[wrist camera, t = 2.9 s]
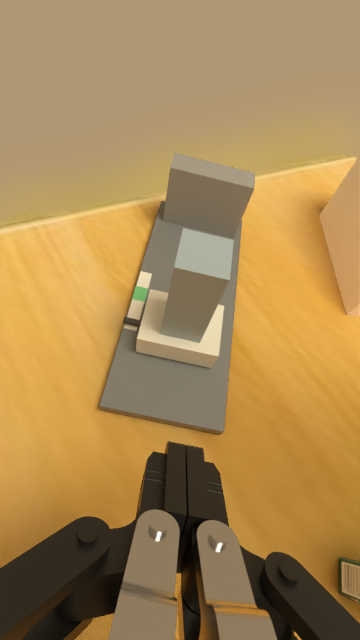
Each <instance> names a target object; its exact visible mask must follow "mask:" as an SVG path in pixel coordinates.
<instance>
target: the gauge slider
mask: <svg viewBox="0 0 360 640" xmlns="http://www.w3.org/2000/svg"><path fill="white" fill-rule="evenodd" d="M233 243H234V240H231V239H227V238H223V237H219V236H214V235H210V234H206V233H202V232H198V231H194V230H189V229H185V228H183V231H182V235H181V239H180V244H179V248H178V252H177V257H176V261H175V266H174V270H173V275H172V279H171V284H170V289H169V293H166V292H162V291H157V290H153V289H150V292H149V295H148V299H147V303H146V306H145V310H144V314H143V318H142V321H141V320H137V319H132V318H128V317H124V321H123V324H128V325H132V326H137V327H140V329H139V332H138V336H137V343H136V352H139V353H144V354H148V355H153V356H157V357H162V358H166V359H171V360H176V361H180V362H185V363H189V364H194V365H199V366H203V367H208V368H212V366H213V365H214V363H215V362H216V360H217V359H218V357H219V350H220V340H221V331H222V322H223V312H224V306H223V305H219V302H220V300H221V298H222V295H223V293H224V291H225V289H226V287H227V285H228V283H229V281H230V273H231V263H232V253H233Z"/></svg>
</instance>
